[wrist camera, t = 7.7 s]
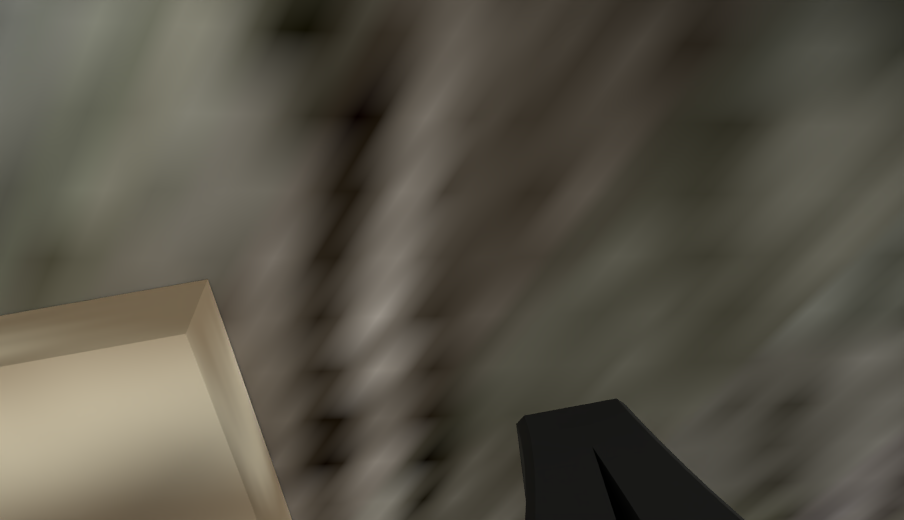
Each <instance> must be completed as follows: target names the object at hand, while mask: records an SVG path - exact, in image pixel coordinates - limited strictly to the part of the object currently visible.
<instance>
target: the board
mask: <svg viewBox="0 0 904 520" xmlns="http://www.w3.org/2000/svg"><path fill="white" fill-rule="evenodd" d="M0 520H292V518H291V516H290V513H289V510H288V507H287V504H286V501H285V499H284V496H283V493H282V490H281V487H280V484H279V481H278V479H277V476H276V473H275V470H274V467H273V464H272V461H271V459H270V456H269V453H268V450H267V447H266V444H265V441H264V439H263V436H262V433H261V430H260V427H259V424H258V421H257V419H256V416H255V413H254V410H253V407H252V404H251V401H250V399H249V396H248V393H247V390H246V387H245V384H244V382H243V379H242V376H241V373H240V370H239V367H238V364H237V362H236V359H235V356H234V353H233V350H232V347H231V344H230V342H229V339H228V336H227V333H226V330H225V327H224V324H223V322H222V319H221V316H220V313H219V310H218V307H217V304H216V302H215V299H214V296H213V293H212V290H211V287H210V284H209V282H208V279H206V280H201V281H195V282H189V283H184V284H178V285H172V286H167V287H161V288H155V289H150V290H144V291H138V292H133V293H127V294H121V295H116V296H110V297H104V298H99V299H93V300H87V301H81V302H76V303H70V304H64V305H59V306H53V307H47V308H42V309H36V310H30V311H25V312H19V313H13V314H8V315H2V316H0Z"/></svg>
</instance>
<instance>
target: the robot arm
mask: <svg viewBox="0 0 904 520" xmlns="http://www.w3.org/2000/svg"><path fill="white" fill-rule="evenodd" d="M516 425H517V433H518V441H519V449H520V457H521V465H522V473H523V481H524V489H525V497H526V515H525V520H744V519H743V518H742V517H741V516H740V515H738V514H737V513H736V512H735V511H734V510H733V509H732V508H731V507H730V506H728V505H727V504H726V503H725V502H724V501H723V500H722V499H721V498H719V497H718V496H717V495H716V494H715V493H714V492H713V491H712V490H711V489H709V488H708V487H707V486H706V485H705V484H704V483H703V482H702V481H701V480H700V479H699V478H698V477H697V476H696V475H694V474H693V473H692V472H691V471H690V470H689V469H688V468H687V467H686V466H685V465H684V464H683V463H682V462H681V461H680V460H679V459H678V458H677V457H676V456H675V455H674V454H673V453H672V452H671V451H670V450H669V449H668V448H667V447H666V446H665V445H664V444H663V443H662V442H661V441H660V440H659V439H658V438H657V437H656V436H655V435H654V434H653V433H652V432H651V431H650V430H649V429H648V428H647V427H646V426H645V425H644V424H643V423H642V422H641V421H640V420H639V419H638V418H637V417H636V416H635V415H634V413H633V412H632V411H631V410H630V409H629V408H628V407H627V406H626V405H625V404H624V403H622V402H621V401H619V400H618V399H612V400H606V401H601V402H595V403H590V404H585V405H579V406H574V407H568V408H563V409H558V410H552V411H547V412H541V413H536V414H531V415H525V416H523V418H522V419H521V420H520V421H519V422H518V423H517V424H516Z"/></svg>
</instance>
